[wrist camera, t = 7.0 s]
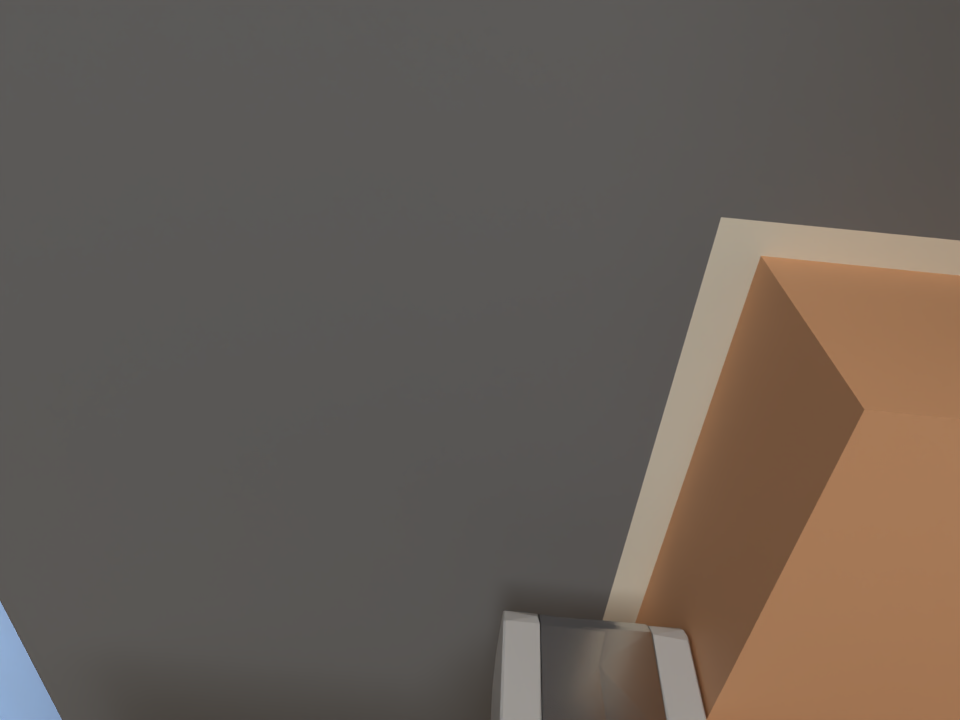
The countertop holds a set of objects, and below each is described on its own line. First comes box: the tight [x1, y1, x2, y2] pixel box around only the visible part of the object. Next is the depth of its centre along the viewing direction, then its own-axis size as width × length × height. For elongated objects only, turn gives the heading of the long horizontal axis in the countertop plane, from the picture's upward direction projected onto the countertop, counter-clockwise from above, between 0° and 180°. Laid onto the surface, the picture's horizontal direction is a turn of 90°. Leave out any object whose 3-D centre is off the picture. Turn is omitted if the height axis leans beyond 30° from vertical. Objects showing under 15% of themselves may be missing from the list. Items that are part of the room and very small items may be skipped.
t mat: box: [0, 0, 960, 720], centre depth 11 cm, size 25×18×1 cm
